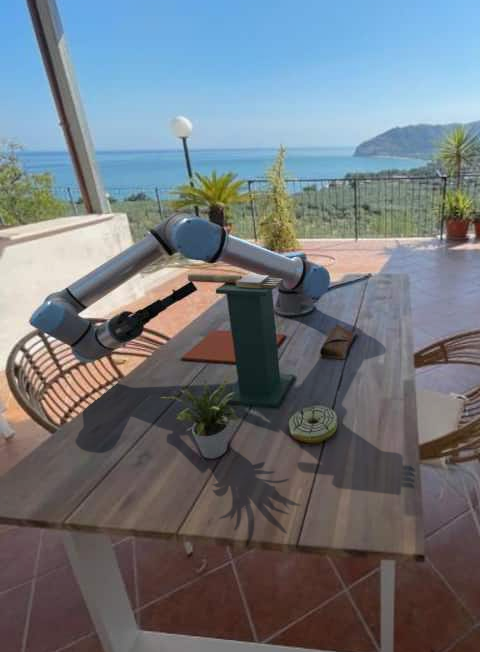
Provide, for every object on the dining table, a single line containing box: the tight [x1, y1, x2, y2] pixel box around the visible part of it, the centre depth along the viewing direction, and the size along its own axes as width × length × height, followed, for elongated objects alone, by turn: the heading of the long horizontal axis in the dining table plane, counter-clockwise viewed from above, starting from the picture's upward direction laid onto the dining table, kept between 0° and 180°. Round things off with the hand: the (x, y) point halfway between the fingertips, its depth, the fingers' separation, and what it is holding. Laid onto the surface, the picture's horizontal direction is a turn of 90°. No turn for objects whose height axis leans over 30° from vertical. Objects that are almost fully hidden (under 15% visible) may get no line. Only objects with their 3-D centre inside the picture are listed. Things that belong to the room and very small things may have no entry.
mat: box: [181, 329, 286, 365], centre depth 125 cm, size 20×26×1 cm
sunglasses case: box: [319, 323, 358, 360], centre depth 126 cm, size 18×7×7 cm, turn 169°
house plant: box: [161, 375, 238, 459], centre depth 78 cm, size 14×14×16 cm
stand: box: [215, 278, 295, 408], centre depth 98 cm, size 14×14×30 cm
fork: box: [187, 272, 283, 289], centre depth 92 cm, size 6×23×2 cm, turn 82°
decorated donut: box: [288, 405, 338, 444], centre depth 87 cm, size 10×11×4 cm
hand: (179, 294), depth 96 cm, fingers open, 13 cm apart
